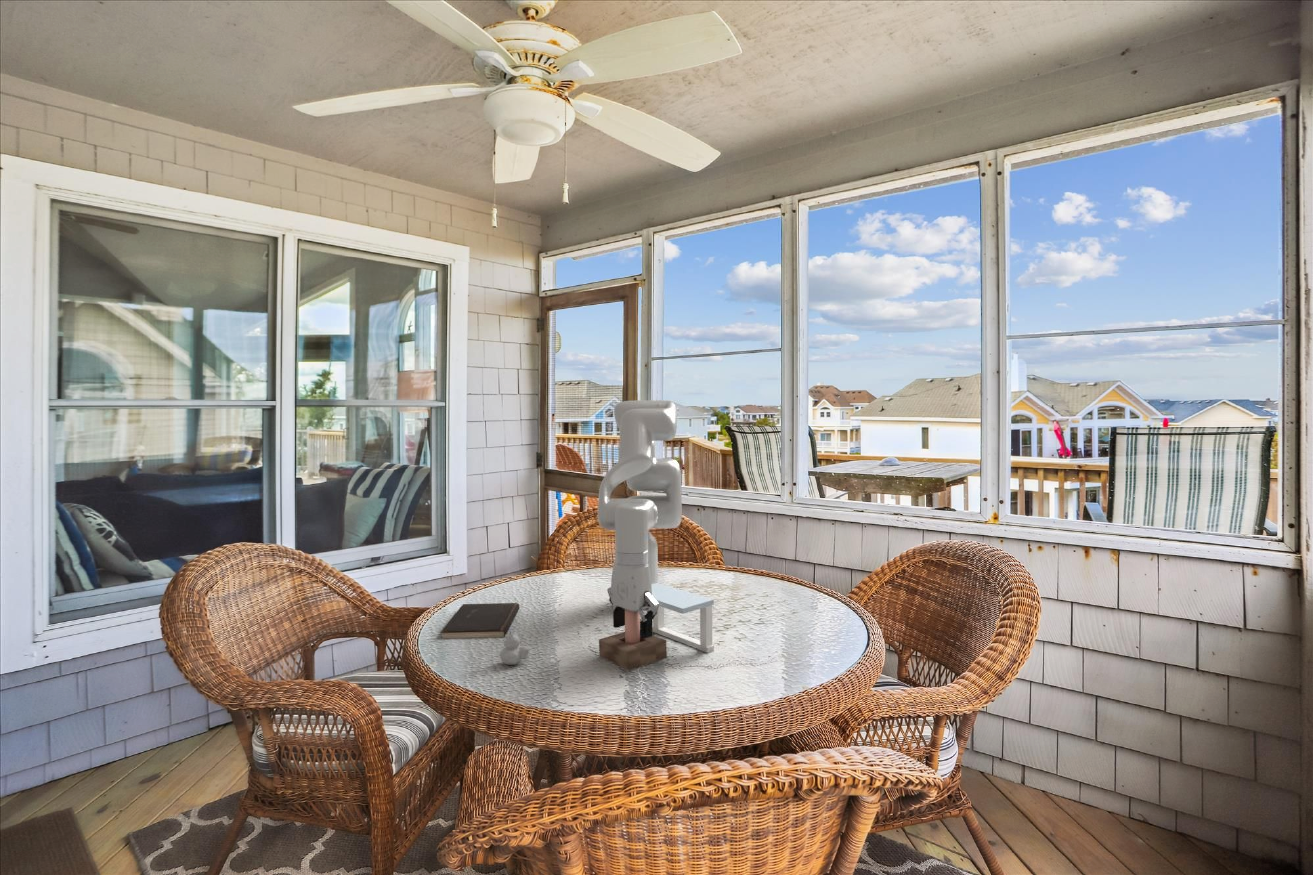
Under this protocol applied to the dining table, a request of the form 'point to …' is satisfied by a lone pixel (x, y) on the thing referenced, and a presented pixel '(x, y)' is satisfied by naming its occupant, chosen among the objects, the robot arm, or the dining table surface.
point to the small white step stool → (683, 604)
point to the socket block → (632, 651)
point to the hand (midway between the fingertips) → (632, 631)
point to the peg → (632, 627)
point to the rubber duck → (513, 650)
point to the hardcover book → (481, 620)
